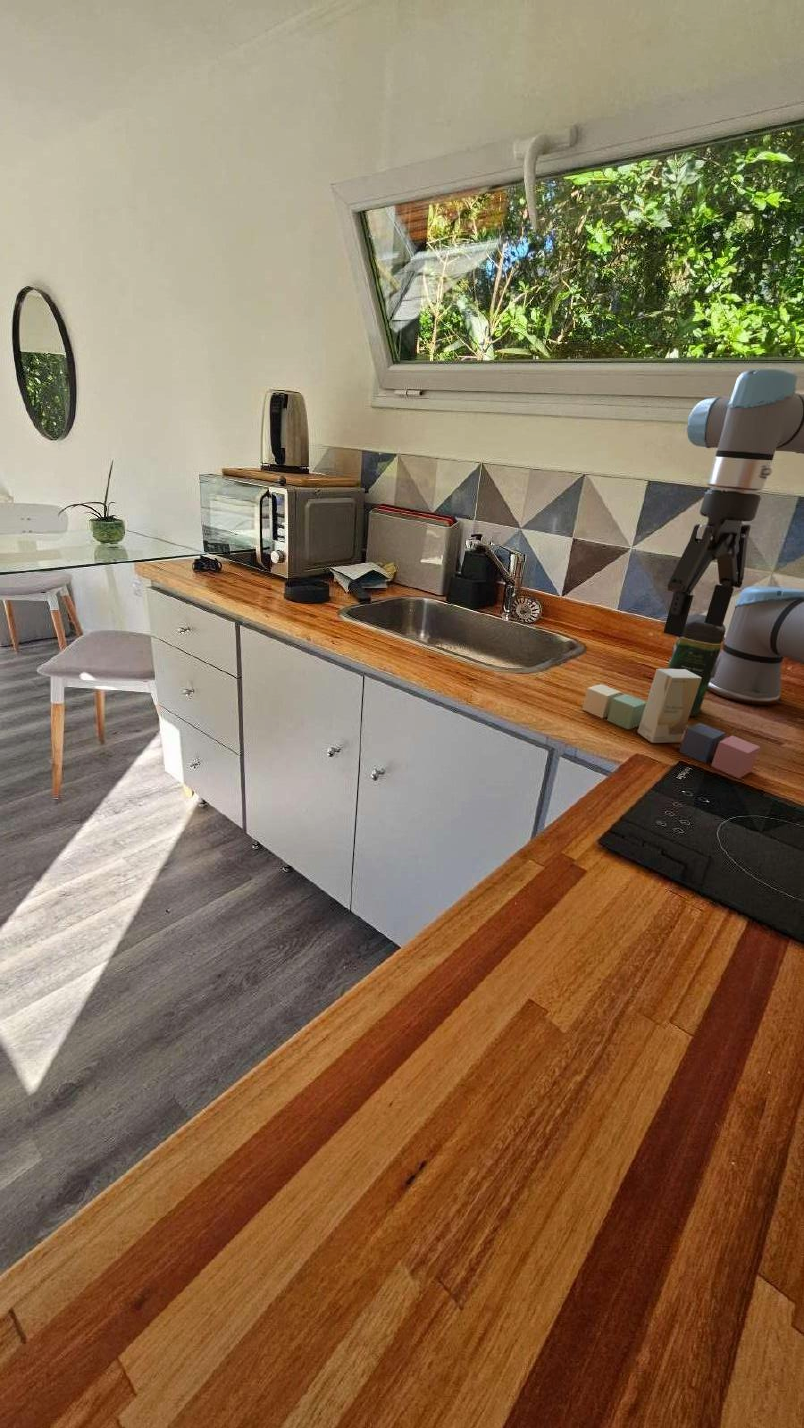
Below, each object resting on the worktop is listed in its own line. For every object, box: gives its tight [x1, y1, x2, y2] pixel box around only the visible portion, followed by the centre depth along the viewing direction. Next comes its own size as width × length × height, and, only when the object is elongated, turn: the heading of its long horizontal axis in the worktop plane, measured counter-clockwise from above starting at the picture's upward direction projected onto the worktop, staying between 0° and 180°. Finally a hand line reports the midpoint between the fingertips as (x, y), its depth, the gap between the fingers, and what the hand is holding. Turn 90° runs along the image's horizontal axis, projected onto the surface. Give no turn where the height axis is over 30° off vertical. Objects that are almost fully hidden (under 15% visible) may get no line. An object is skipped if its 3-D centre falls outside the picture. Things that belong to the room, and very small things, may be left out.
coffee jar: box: [667, 613, 727, 717], centre depth 115 cm, size 10×8×19 cm
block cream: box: [581, 683, 622, 719], centre depth 112 cm, size 4×4×4 cm
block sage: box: [606, 693, 647, 731], centre depth 108 cm, size 4×4×4 cm
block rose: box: [710, 735, 761, 779], centre depth 95 cm, size 4×4×4 cm
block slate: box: [678, 722, 726, 764], centre depth 99 cm, size 4×4×4 cm
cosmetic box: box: [637, 668, 702, 744], centre depth 102 cm, size 6×4×12 cm
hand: (693, 629), depth 97 cm, fingers open, 13 cm apart
